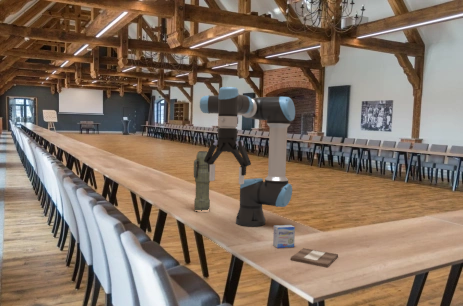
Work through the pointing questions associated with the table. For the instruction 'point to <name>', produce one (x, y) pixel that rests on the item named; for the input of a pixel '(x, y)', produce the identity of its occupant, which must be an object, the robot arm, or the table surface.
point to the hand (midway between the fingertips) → (226, 182)
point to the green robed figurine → (201, 182)
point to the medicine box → (283, 236)
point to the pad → (314, 257)
